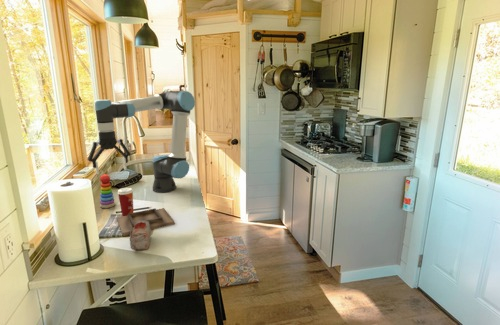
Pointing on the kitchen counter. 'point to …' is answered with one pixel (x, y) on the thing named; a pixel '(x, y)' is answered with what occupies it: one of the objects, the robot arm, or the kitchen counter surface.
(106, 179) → the stacking toy
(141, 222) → the food item
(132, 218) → the assembly base
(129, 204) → the paper cup
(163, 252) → the kitchen counter surface
